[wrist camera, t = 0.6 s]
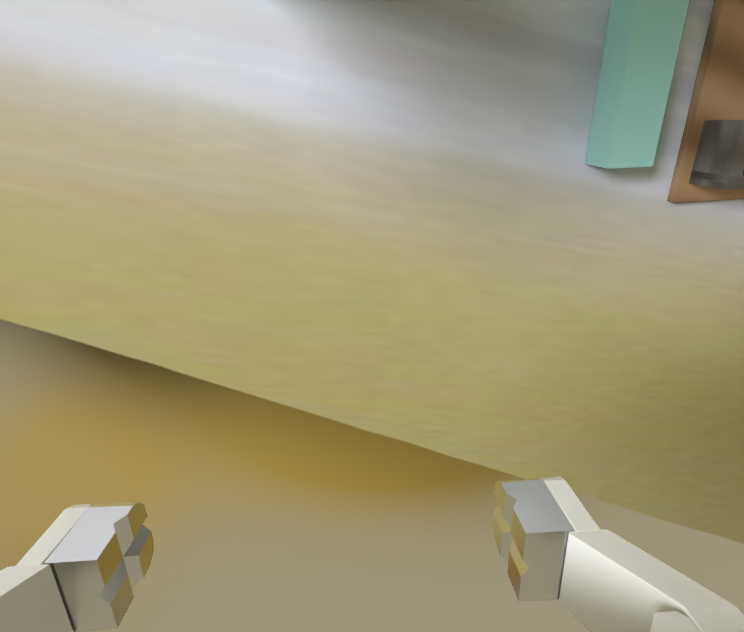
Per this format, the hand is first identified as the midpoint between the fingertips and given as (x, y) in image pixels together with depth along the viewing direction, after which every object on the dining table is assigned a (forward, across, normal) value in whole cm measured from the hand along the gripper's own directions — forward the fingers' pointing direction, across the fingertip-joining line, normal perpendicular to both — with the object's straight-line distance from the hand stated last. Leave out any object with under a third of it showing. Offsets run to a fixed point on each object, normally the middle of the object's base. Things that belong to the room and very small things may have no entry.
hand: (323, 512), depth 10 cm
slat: (+34, -26, -16) cm, 46 cm away
